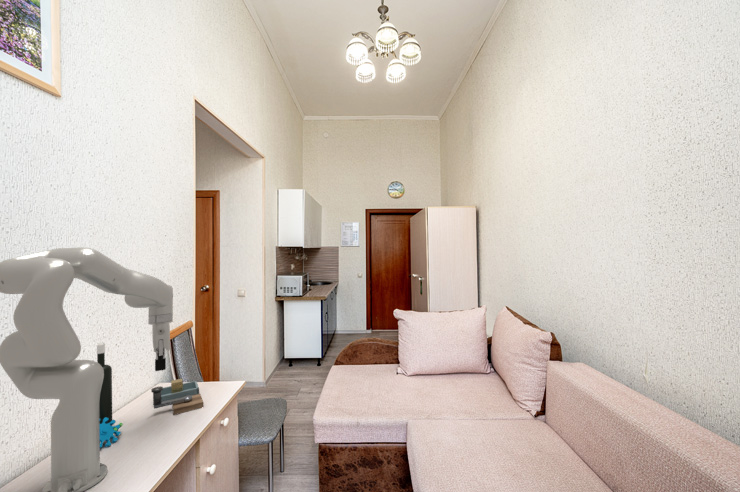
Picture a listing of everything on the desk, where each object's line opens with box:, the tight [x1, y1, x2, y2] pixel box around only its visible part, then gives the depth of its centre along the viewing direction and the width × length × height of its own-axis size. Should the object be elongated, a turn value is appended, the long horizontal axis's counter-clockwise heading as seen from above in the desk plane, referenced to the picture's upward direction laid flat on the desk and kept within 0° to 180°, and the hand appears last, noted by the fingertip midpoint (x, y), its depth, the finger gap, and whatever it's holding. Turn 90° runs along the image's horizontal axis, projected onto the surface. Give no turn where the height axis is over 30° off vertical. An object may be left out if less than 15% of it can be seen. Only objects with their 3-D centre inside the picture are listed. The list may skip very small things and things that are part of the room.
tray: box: [161, 380, 200, 402], centre depth 137 cm, size 11×16×4 cm
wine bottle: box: [96, 342, 113, 426], centre depth 112 cm, size 6×6×30 cm
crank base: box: [171, 393, 204, 416], centre depth 128 cm, size 10×10×2 cm
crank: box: [151, 386, 192, 409], centre depth 126 cm, size 13×4×7 cm, turn 121°
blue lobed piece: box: [99, 417, 124, 449], centre depth 104 cm, size 11×6×10 cm
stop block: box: [170, 378, 184, 394], centre depth 137 cm, size 4×4×6 cm
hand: (160, 369), depth 118 cm, fingers closed
